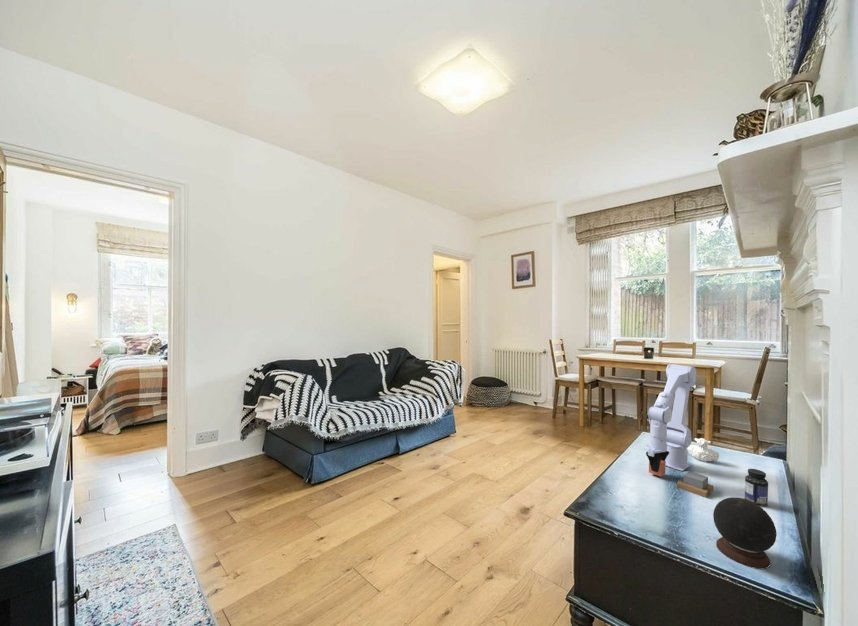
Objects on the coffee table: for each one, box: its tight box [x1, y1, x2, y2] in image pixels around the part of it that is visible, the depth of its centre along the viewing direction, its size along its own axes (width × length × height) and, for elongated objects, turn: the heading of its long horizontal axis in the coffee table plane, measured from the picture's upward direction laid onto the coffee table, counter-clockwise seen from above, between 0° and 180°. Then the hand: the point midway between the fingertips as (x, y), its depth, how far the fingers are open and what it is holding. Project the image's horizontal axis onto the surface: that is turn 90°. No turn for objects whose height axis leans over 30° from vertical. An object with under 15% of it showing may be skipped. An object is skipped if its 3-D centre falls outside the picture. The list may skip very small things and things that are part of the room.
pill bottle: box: [744, 468, 769, 507], centre depth 126 cm, size 6×6×11 cm
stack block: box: [648, 460, 667, 477], centre depth 145 cm, size 4×4×5 cm
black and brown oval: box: [712, 496, 777, 569], centre depth 98 cm, size 13×13×15 cm
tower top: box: [682, 470, 709, 489], centre depth 135 cm, size 6×6×3 cm
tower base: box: [676, 477, 714, 499], centre depth 134 cm, size 9×9×2 cm
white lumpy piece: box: [687, 437, 720, 463], centre depth 161 cm, size 12×8×11 cm
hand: (657, 469), depth 145 cm, fingers closed on stack block, 4 cm apart
